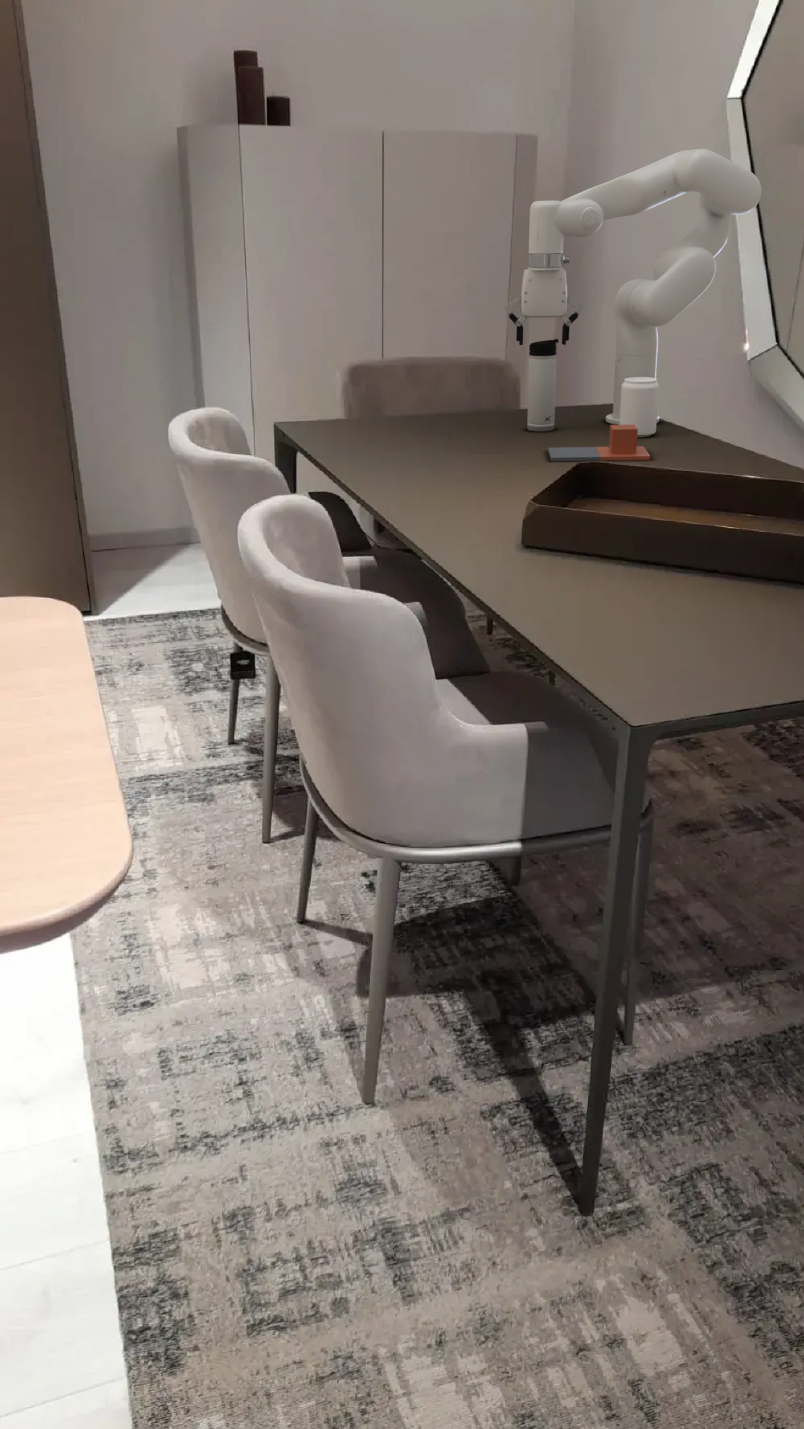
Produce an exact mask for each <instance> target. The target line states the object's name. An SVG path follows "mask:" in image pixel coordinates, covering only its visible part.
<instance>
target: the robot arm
mask: <svg viewBox="0 0 804 1429" xmlns="http://www.w3.org/2000/svg"><path fill="white" fill-rule="evenodd" d="M761 185H762V184H761V182H760V180H759V178H758V176H756V175H755V174H754V173H753V172H752V171H750V170H749V169H748V168H745V167H743V166H741V165H739V164H737V163H735V162H734V161H732V160H730V159H728V158H726V157H724V156H722V155H720V153H717V152H714V151H712V150H710V149H707V148H694V149H686V150H680V151H677V152H675V153H672V154H670V155H668V156H665V157H663V158H661V159H659V160H657V161H654V162H652V163H650V164H647V165H645V166H642V167H640V168H638V169H636V170H633V171H631V172H629V173H626V174H624V175H620V176H618V177H615V178H614V179H610V180H608V181H606V182H603V183H600V184H598V185H595V186H593V187H590V188H588V189H585V190H583V191H580V192H578V193H576V194H573V195H571V196H569V197H567V198H565V199H563V200H536V201H533V202H532V203H531V205H530V207H529V220H528V223H529V224H528V225H529V229H528V255H527V256H528V257H527V268H525V269H524V270H523V275H522V280H521V281H522V282H521V291H520V292H521V293H520V297H517V298H516V299H514V300H512V301H510V302H509V303H507V304H505V305H504V309H505V312H506V314H507V317H508V318H509V320H510V321H512V323H513V324H514V325H515V326H516V334H515V336H516V338H515V340H516V341H515V342H518V344H519V346H523V345H524V326H523V324H524V322H525V321H526V319H527V318H560V319H561V320H562V322H563V325H562V329H561V345H563V346H566V345H567V342H568V341H570V327H571V326H572V324H573V323H574V322H575V321H576V320H577V319H578V318H579V316H580V314H581V312H582V310H583V309H584V305H583V304H582V303H580V302H579V301H577V300H575V299H573V298H572V297H570V296H568V284H567V283H568V282H567V271H566V268H563V266H564V265H566V264H570V256H566V255H564V239H565V237H574V238H575V237H576V238H586V237H590V236H592V235H594V234H596V233H597V232H598V231H599V230H600V228H601V227H602V225H603V222H604V221H607V220H611V219H616V218H620V217H621V218H622V217H628V216H634V215H637V214H641V213H643V212H646V211H648V210H651V209H653V208H655V207H657V206H660V205H661V204H664V203H666V202H668V201H670V200H674V199H675V198H678V197H680V196H682V195H685V194H689V193H690V194H691V193H698V194H699V202H698V215H697V218H696V220H695V222H694V223H693V225H692V226H691V227H690V228H689V229H688V230H687V231H686V232H685V233H684V234H683V235H682V236H681V237H680V238H678V240H676V241H675V242H674V243H673V244H672V245H671V246H670V247H669V248H668V249H666V250H665V251H664V252H663V253H662V254H661V255H660V256H659V257H658V259H657V261H656V262H655V264H654V268H653V278H654V280H653V279H648V278H647V279H646V278H634V279H631V280H629V281H627V282H625V283H624V284H622V285H621V287H620V288H619V290H618V291H617V293H616V296H615V299H614V317H615V328H616V329H615V330H616V344H615V359H614V360H615V361H614V379H613V380H614V382H613V398H612V399H613V401H612V413H609V414H606V416H605V422H606V423H607V424H610V425H619V424H620V406H621V388H622V384H623V383H624V379H626V378H632V377H649V378H655V379H657V364H658V354H659V353H658V352H659V333H658V327H664V326H666V325H668V324H669V323H671V322H673V321H674V320H675V319H676V318H678V316H679V315H681V314H682V313H683V312H684V311H685V310H686V309H687V308H689V307H690V305H692V304H693V303H694V302H695V301H697V299H698V298H699V297H700V296H701V295H703V293H705V292H706V290H708V288H709V287H710V285H711V284H712V282H713V281H714V278H715V275H716V270H717V263H716V259H715V258H716V256H717V255H718V254H720V252H721V251H722V250H723V249H724V248H725V246H726V245H727V242H728V239H729V237H730V230H731V224H732V216H733V215H734V216H736V215H737V216H738V215H739V216H740V215H745V214H747V213H750V212H751V211H753V210H754V209H755V208H756V207H757V205H758V204H759V202H760V201H761V197H762V186H761ZM519 305H520V313H521V314H520V315H519V316H518V317H517V315H515V313H514V312H513V309H514V308H515V307H517V306H519ZM568 305H569V306H572V307H573V308H574V310H573V311H572V312H573V313H572V314H571V315H569V317H568V316H567V315H566V314H567V309H568ZM660 418H661V417H660V416H659V415H658V414H657V422H656V424H658V423H659V422H660Z"/></svg>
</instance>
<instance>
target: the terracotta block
mask: <svg viewBox="0 0 804 1429" xmlns="http://www.w3.org/2000/svg"><path fill="white" fill-rule="evenodd" d="M637 433H638V429H637V428H636V426H635V425H616V424H610V425H609V440H608V441H609V442H608V443H609V444H608V447H609V450H610V452H611V454H636V449H637V446H638V437H637Z"/></svg>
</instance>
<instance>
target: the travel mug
mask: <svg viewBox="0 0 804 1429" xmlns="http://www.w3.org/2000/svg"><path fill="white" fill-rule="evenodd" d="M557 344H559V339H558V338H554V339H546V340H539V341H534V342H531V343H530V344H529V346H528V348H529V349H528V351H529V352H528V374H527V375H528V376H527V377H528V378H527V381H528V382H527V425H526V429H527V430H528V431H530V432H535V433H537V432H538V433H542V432H543V433H544V432H546V433H547V432H551V431H554V430H555V417H556V414H555V413H556V388H557V387H556V385H557V384H556V383H557V356H558V355H557Z"/></svg>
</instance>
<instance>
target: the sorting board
mask: <svg viewBox="0 0 804 1429" xmlns="http://www.w3.org/2000/svg"><path fill="white" fill-rule="evenodd" d="M547 453H548V455H549V460H550V462H597V461H598V462H599V461H600V462H601V461H602V462H603V461H605V462H606V461H608V462H609V461H651V455H650V454H649V452H648V450H647V449H646V447H645V446H644V445H639V446H638V445H637V449H636V454H611V452H610V450H609V446H576V447H575V446H569V447H565V446H564V447H563V446H562V447H548V448H547Z"/></svg>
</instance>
